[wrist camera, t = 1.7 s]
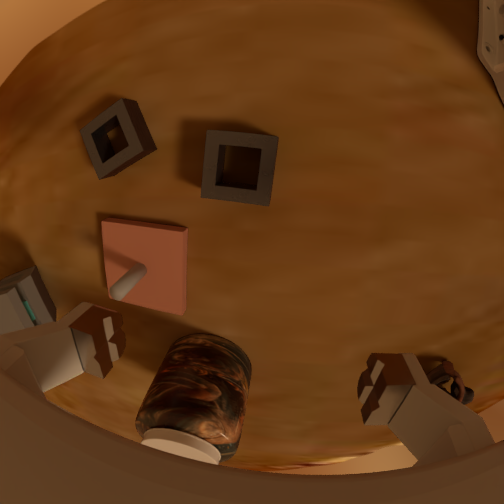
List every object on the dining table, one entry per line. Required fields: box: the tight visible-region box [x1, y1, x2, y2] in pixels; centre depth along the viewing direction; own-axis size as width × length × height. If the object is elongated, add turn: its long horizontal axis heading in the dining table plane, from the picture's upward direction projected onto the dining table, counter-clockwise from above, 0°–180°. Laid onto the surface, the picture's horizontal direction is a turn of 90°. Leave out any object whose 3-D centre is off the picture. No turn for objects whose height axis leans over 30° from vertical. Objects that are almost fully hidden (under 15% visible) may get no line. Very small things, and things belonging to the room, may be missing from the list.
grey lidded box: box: [0, 266, 56, 335], centre depth 31 cm, size 25×8×11 cm, turn 105°
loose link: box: [80, 98, 157, 180], centre depth 24 cm, size 6×6×3 cm
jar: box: [135, 334, 252, 465], centre depth 29 cm, size 12×12×15 cm
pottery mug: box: [426, 361, 474, 405], centre depth 31 cm, size 12×10×8 cm
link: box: [201, 130, 279, 206], centre depth 24 cm, size 6×6×3 cm
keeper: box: [101, 217, 188, 315], centre depth 27 cm, size 10×10×7 cm
